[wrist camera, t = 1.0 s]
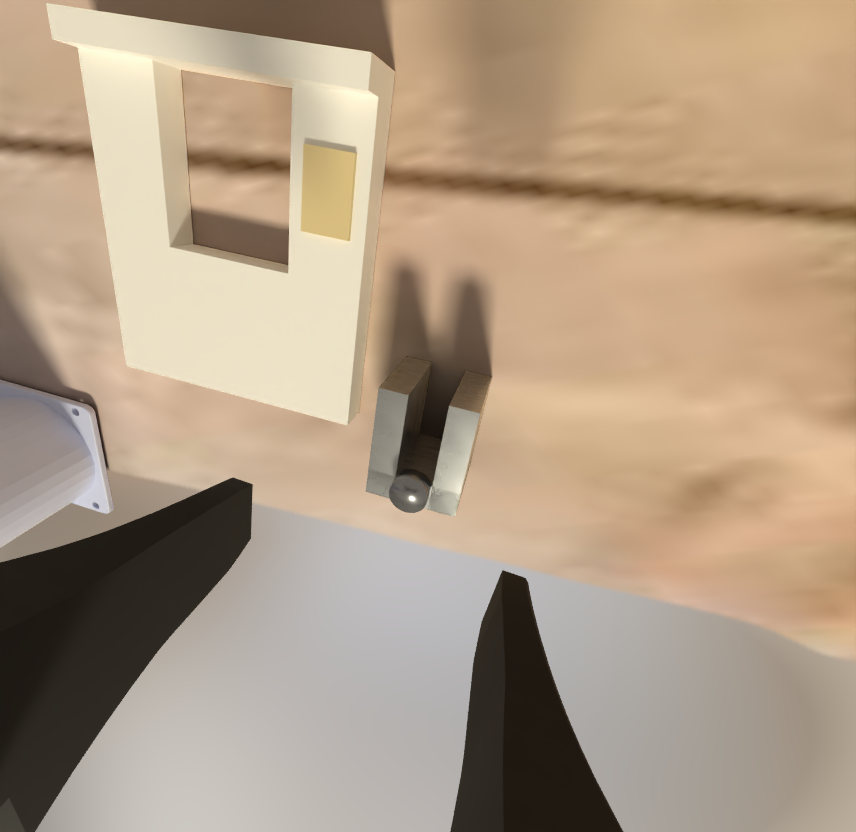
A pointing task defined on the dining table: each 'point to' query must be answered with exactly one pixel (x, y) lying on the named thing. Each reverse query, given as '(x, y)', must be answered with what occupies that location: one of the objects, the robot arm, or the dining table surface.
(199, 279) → the frame
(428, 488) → the clip
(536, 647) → the robot arm
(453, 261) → the dining table surface
